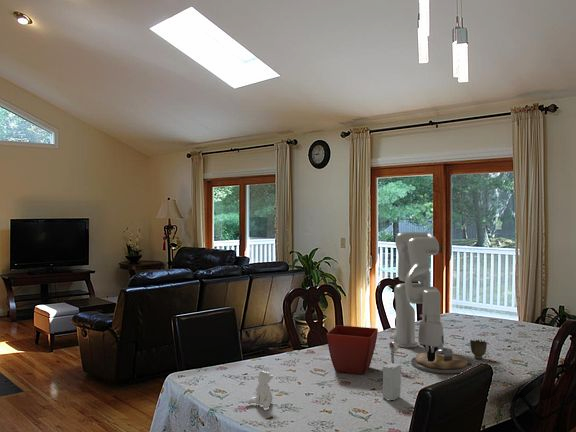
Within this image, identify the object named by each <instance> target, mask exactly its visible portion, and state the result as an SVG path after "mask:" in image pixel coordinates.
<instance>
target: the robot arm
mask: <svg viewBox="0 0 576 432" xmlns="http://www.w3.org/2000/svg"><path fill="white" fill-rule="evenodd" d="M394 243H395V248H396V251H397V253H398V258H397V259H398V260H397V277H398V279H399V281H402V282H404V283H402V282H401V283H398V284H396V285H394V288H393V289H394V291H393V292H394V293H393V295H394V299H395V300H394V301H395V334H392V333H391V334H390V335H389V339H392V340H393V341H392V342H396V343H397V344H398V346H399V348H404V349H405V348H406V349H407V348H417V347H418V346H420V347H423V348H424V350H425V352H427V358H428V361H430V362H433V361H434V360H435V352H436V351H437V350H440V349H443V348H444V343H445V337H444V336H445V334H444V327H443V323H442V322H441V315H442V314H441V309H442V308H441V305H442V304H441V299H442V298H441V297H442V296H441V292H440V290H438V288H437V287H435V286H430V285H431V284H430V282H431V280H430V279H431V271H430V268H431V263H430V259H429V256H436V255H438V254H439V251H440V244H439V241H438V240H437V238H436V237H435V236H434V235H433V234H431V233H430V232H426V231H423V232H422V231H419V232H417V231H416V232H415V231H405V232H399V233H397V234H396V236H395V241H394ZM412 282H413V283H412ZM414 282H415V283H414ZM411 304H414V305H415V304H416V305H417V304H418V305H419V304H422V306H421V307H422V310H421V311H422V314H419V317H420V318H421V320H420V323H419V325H418V336H417V341H416V313H415V312H416V311H415V309H414V307H413V306H412V305H411Z"/></svg>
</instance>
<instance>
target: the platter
mask: <svg viewBox="0 0 576 432" xmlns="http://www.w3.org/2000/svg"><path fill="white" fill-rule="evenodd" d="M415 357H416V362H417V363H418V364H420V365H423V366H426V367H430V368H436V369H460V368H464V367H466V366H467V361H468V359H467V358H466V357H464V356H462V355H460V354H457V353H452V360H450V361H444V355H442V354H437V356H436V352H435V360H434V361H433V362H430V361H428V358H427V351H425V352H420V353H419V354H417V355H415Z"/></svg>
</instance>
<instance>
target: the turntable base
mask: <svg viewBox="0 0 576 432" xmlns="http://www.w3.org/2000/svg"><path fill="white" fill-rule="evenodd" d="M411 364H412V365H411ZM410 365H411V366H412V367H413V368H415V369H416V370H419V371H422V372H425V373H431V374H438V375H460V374H459V373H461V372H464V371H466V370H467V369H469V368H471V367H472V368H473V364H472V363H471V362H470V361H469V360H467V366H466V367H464V368H460V369H436V368H430V367H426V366H423V365H420V364H418V363H417V362H416V356H415V357H413V358H412V359H411V361H410Z"/></svg>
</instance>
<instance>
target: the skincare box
mask: <svg viewBox="0 0 576 432" xmlns="http://www.w3.org/2000/svg"><path fill="white" fill-rule="evenodd" d="M401 367H402V366H401V364H398V363H394V364H393V363H391V362H390V363H388V364H386V365H384V366H382V399H383V398H385V399H389V400H394V401H395V399H396V398H397V399H399V398H400V397H401V369H402V368H401ZM398 397H399V398H398ZM385 399H384V400H385ZM397 399H396V400H397Z"/></svg>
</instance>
